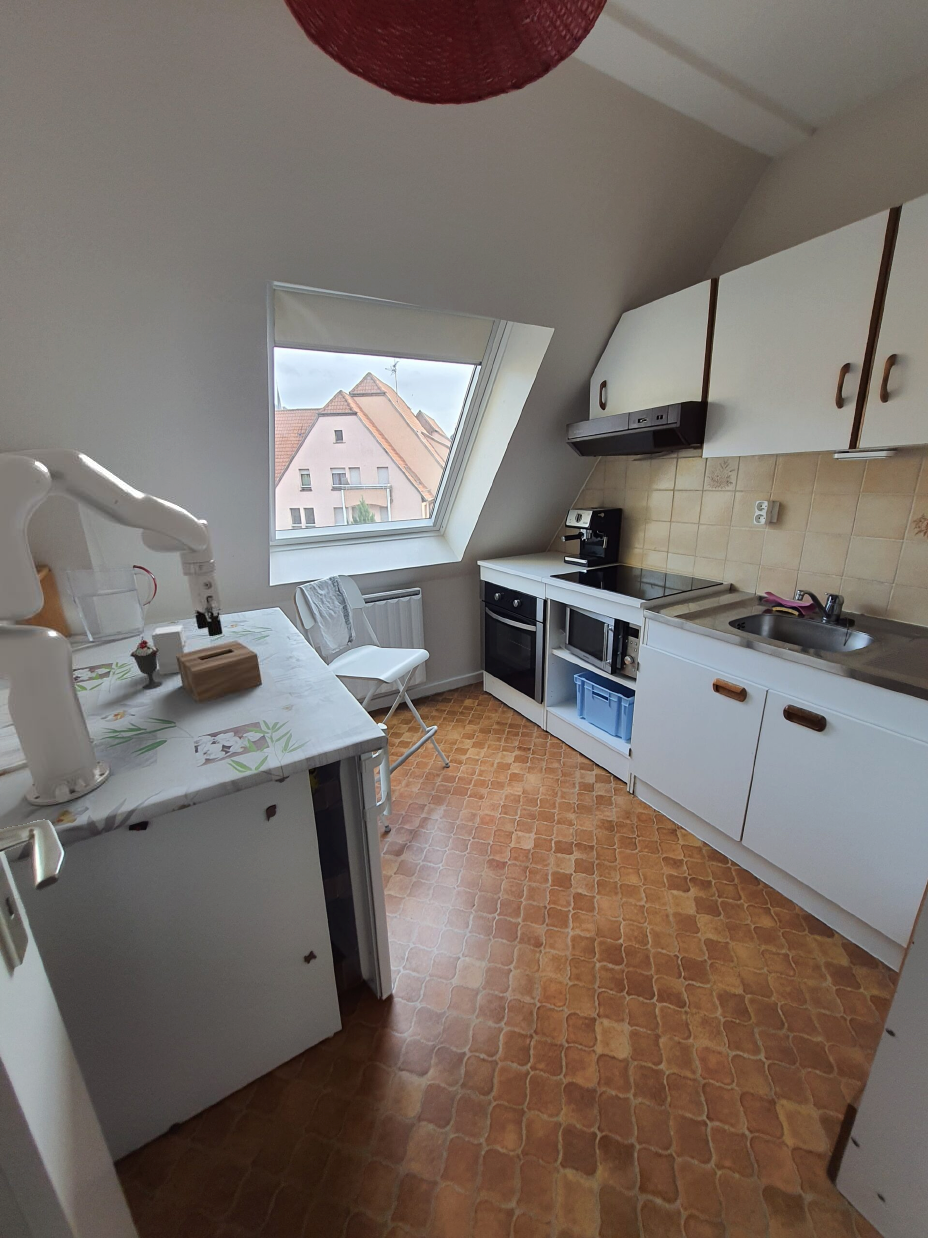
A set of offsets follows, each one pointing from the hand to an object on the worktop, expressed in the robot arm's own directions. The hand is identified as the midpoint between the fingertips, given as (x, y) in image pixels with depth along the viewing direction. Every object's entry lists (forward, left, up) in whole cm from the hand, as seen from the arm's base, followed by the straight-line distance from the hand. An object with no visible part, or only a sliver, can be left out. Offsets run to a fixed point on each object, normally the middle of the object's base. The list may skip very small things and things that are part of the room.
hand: (209, 631), depth 128 cm
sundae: (+14, +13, -16) cm, 25 cm away
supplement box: (+23, +5, -16) cm, 29 cm away
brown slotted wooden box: (0, -1, -16) cm, 16 cm away
